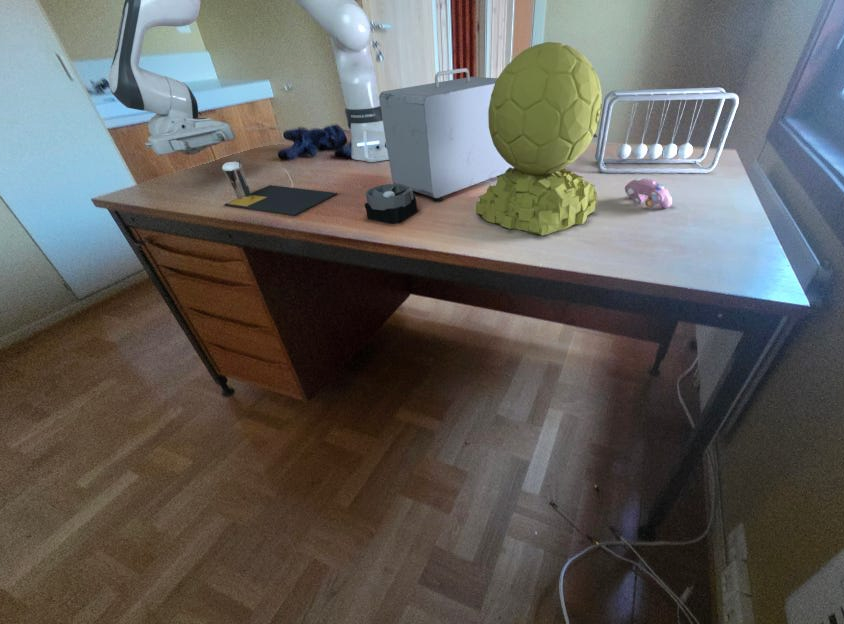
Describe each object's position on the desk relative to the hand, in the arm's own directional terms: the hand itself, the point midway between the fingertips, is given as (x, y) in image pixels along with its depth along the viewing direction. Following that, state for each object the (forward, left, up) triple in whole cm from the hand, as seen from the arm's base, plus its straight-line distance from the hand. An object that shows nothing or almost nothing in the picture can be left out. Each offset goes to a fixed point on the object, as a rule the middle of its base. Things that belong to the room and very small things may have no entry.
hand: (205, 141), depth 100 cm
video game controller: (-102, +41, -13) cm, 111 cm away
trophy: (-77, +39, -13) cm, 88 cm away
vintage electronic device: (-63, +10, -13) cm, 65 cm away
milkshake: (-8, +9, -13) cm, 17 cm away
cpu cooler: (-45, +30, -13) cm, 56 cm away
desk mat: (-17, +11, -13) cm, 24 cm away
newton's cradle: (-118, +16, -13) cm, 120 cm away
